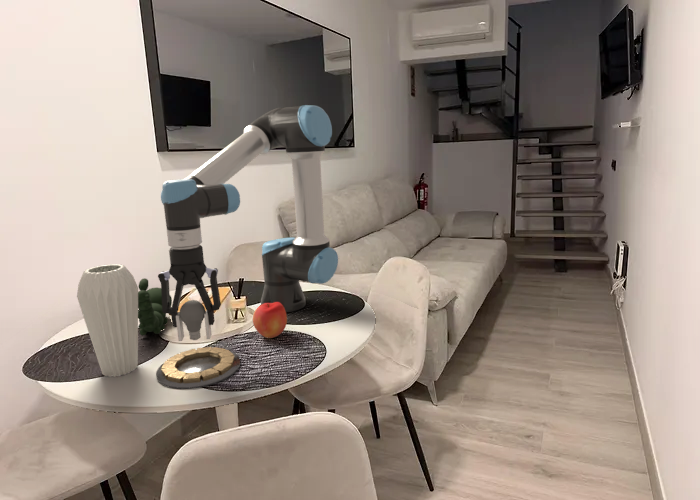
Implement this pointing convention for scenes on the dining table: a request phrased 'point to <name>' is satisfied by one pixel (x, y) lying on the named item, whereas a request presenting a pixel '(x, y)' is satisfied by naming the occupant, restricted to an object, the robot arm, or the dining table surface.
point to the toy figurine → (150, 309)
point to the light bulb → (192, 317)
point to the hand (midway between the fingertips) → (195, 337)
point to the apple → (270, 319)
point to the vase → (111, 316)
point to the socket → (198, 368)
